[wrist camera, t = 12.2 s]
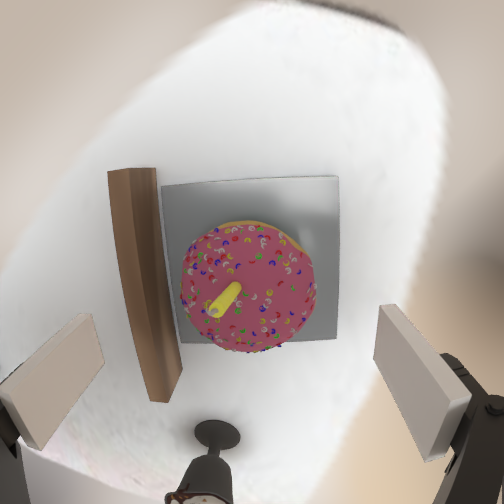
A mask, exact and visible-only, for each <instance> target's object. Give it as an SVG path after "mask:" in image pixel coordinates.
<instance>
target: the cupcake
mask: <svg viewBox="0 0 504 504" xmlns="http://www.w3.org/2000/svg"><path fill="white" fill-rule="evenodd" d="M180 286H181V295H180V299H182V304H183V305H184V310H186V313H187V318H189V320H190V322H191V323H192V324H193V325H194V326H195V327H196V330H197V329H198V330H197V331H199V332H200V334H201V335H202V336H203V335H204V336H205V337H207V338H208V339H209V340H211V341H212V342H213V343H215V344H216V345H218V346H220V347H222V348H224V349H225V350H232V351H234V352H235V351H241V352H247V353H249V352H254V353H256V352H258V351H260V352H262V351H265V350H268V349H271V348H273V347H276V346H278V347H281V345H280V344H282V343H284V342H286V341H287V340H289V339H290V338H292V337H293V336H294V335H296V334H297V333H298V332H299V331H300V329H301V328H302V327H303V326H304V324H305V323H306V321H307V320H308V318H309V317H310V316H311V314H312V312H313V311H314V308H315V305H316V288H317V284H315V281H314V273H313V266H312V262H311V259H310V257H309V255H308V254H307V252H306V251H305V250H304V249H303V248H302V247H300V246H299V245H298V244H297V243H296V242H295V241H294V240H293V239H292V238H291V237H289V236H288V235H287V234H285V233H284V232H282V231H281V230H279V229H277V228H275V227H273V226H271V225H268V224H266V223H262V222H258V221H251V220H247V221H235V222H228V223H225V224H223V225H220V226H218V227H216V228H214V229H213V230H211V231H209V232H208V233H207V234H204V235H202V236H200V237H199V238H197V239H196V240H194V241H193V242H192V245H191V246H190V247H189V249H188V250H187V252H186V254H185V256H184V259H183V268H182V279H181V283H180Z"/></svg>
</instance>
